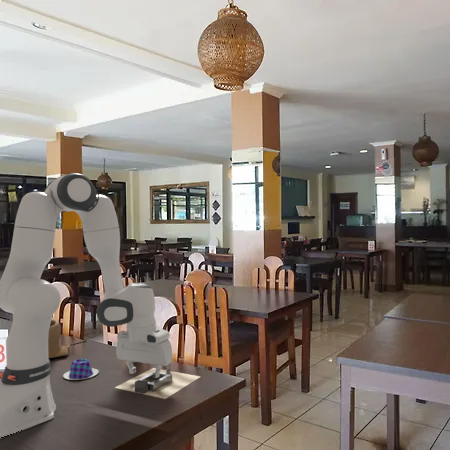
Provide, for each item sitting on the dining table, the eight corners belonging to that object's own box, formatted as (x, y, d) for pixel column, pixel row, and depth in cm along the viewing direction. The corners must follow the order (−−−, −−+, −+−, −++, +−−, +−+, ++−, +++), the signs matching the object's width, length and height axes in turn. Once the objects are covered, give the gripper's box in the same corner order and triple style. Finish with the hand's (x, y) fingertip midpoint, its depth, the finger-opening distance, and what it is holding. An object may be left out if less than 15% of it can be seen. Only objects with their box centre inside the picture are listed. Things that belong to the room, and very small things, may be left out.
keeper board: (165, 403, 131) (164, 378, 131) (114, 392, 141) (113, 368, 141) (200, 381, 149) (200, 358, 149) (153, 372, 158) (152, 351, 158)
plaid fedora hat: (105, 371, 162) (104, 356, 161) (86, 383, 150) (85, 367, 150) (76, 368, 165) (76, 354, 165) (55, 380, 153) (55, 365, 153)
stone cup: (31, 365, 169) (30, 326, 169) (30, 356, 180) (29, 319, 180) (73, 359, 176) (71, 321, 175) (70, 351, 186) (69, 315, 186)
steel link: (153, 391, 137) (153, 384, 137) (135, 388, 140) (135, 381, 140) (172, 380, 145) (172, 374, 145) (155, 377, 149) (155, 371, 149)
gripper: (110, 332, 145) (112, 374, 145) (162, 338, 136) (164, 383, 136) (123, 327, 150) (125, 367, 151) (174, 333, 141) (175, 376, 142)
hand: (144, 375), depth 143 cm, fingers open, 8 cm apart
